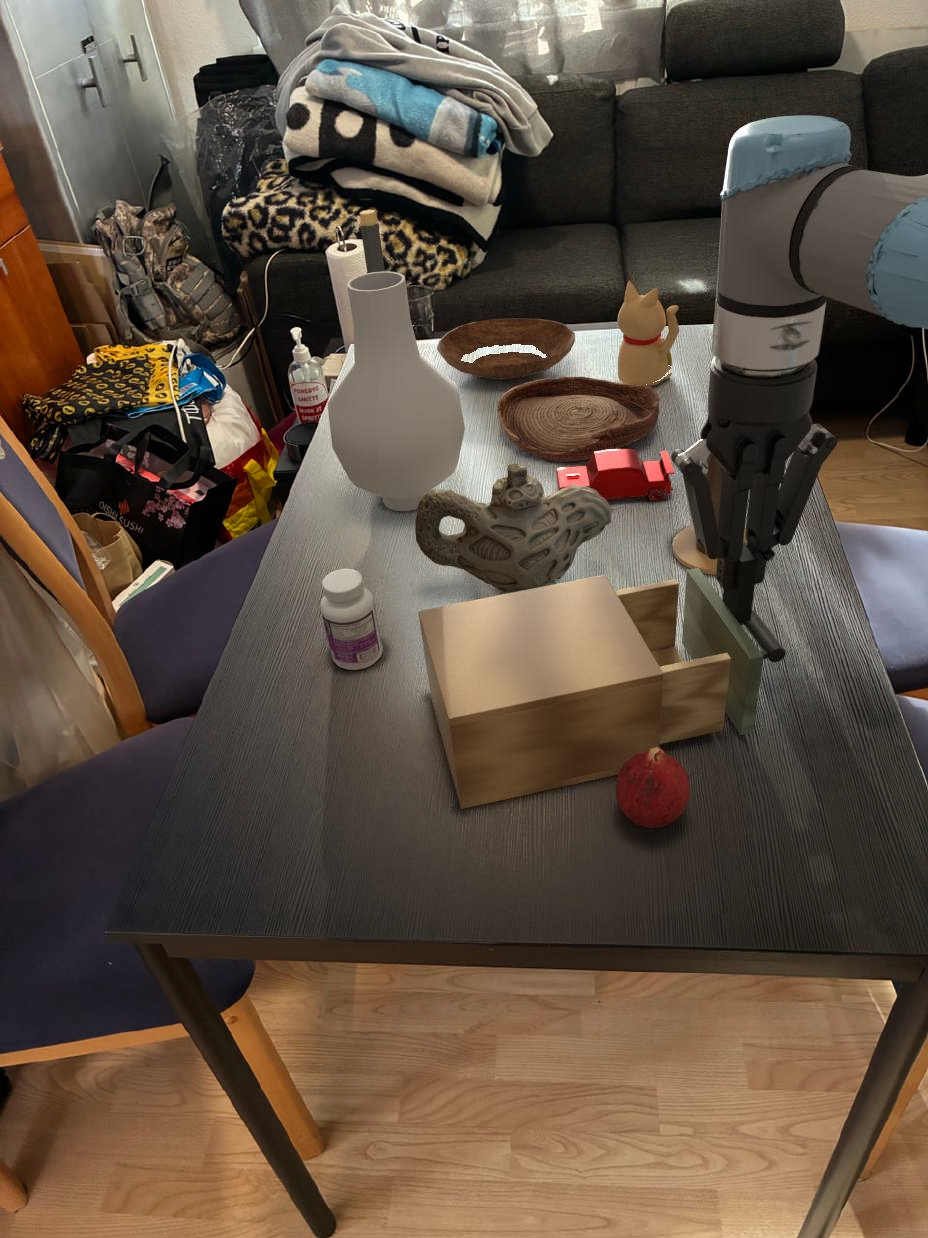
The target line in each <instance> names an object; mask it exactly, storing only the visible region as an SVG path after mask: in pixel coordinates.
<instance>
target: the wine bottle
mask: <svg viewBox="0 0 928 1238" xmlns="http://www.w3.org/2000/svg"><path fill="white" fill-rule="evenodd" d="M376 214H377V213H376V210H374V209H366V210H362V211H360V212H359V218H360V223H359V229H360V232H361V234H360V235H361V240H362V247H363V253H364V260H365V267H366V273H365V274H367V273H373V272H383V271H386V270H385V263H384V257H383V256H384V255H383V249H382V248H383V247H382V241H381V233H380V223H379V221H378V220H377V215H376ZM410 320H411V324H412V325H413V323H412V319H411V318H410Z"/></svg>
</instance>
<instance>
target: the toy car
mask: <svg viewBox="0 0 928 1238" xmlns="http://www.w3.org/2000/svg"><path fill="white" fill-rule="evenodd" d="M659 454H660V457H661V458H660V460H647V461H643V459H642V458H641V456H640V455H639V453H638V451H637V450H636V449H632V448H617V449H614V450H604V451H599V452H594V454H593V455H592V457H591V458H589V459H588V462H587V463H586V465H579V466H568V467H559V468H557V469H556V471H555V472H556V474H555V475H556V486H557V487H556V488H557V491H559V490H561V489H562V488H566V487H569V486H571V485H573V484H576V485H578V486H587V487H589V488H591V489H594V490H596V491H597V492H598V493H599V495H600V496H601V497H603V498H605V499H606V500H613V499H625V498H627V499H628V498H638V497H640V498H641V497H648V498H649V500H651V501H653V502H658V501H661V500H662V499H664V498H665V496H666V495H668V496H669V495H671V494H672V491H673V490H674V489H673V487H672V481H671V478H670V475H674V474H676V472H675V469H674V466H673V462H672V459H671V456H670V454H669V452H668V450H660V451H659ZM652 491H654V492H653V493H651V492H652ZM654 495H655V496H654Z"/></svg>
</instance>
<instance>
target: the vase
mask: <svg viewBox="0 0 928 1238" xmlns="http://www.w3.org/2000/svg"><path fill="white" fill-rule="evenodd" d="M366 273H367V272H366ZM366 273H363V274H359V275H357V276H355V277H352V278H351V279H350V280H348V282H346V286H347V292H348V299H349V305H350V312H351V318H352V319H351V320H352V325H353V352H354V354H353V356H354V364H353V365H352V367H351V368H350V369H349V371H348V372H347V374H346V375H345V376H344V378H343V379H342V381H341V382H340V384H339V385H338V387H337V388H336V389H335V391H334V393H333V394H332V395H331V396H330V399H329V400H328V401H327V415H328V422H329V430H330V437H331V439H330V440H331V446H332V450H333V452H334V453H335V455H336V457H337V459H338V461H339V463H340V465H341V467H342V469H343V471H344V472H345V474H346V476H347V478H348V480H349V481H350V482H351V483H352V484H353V485H354V486H355V487H356V488H358V489H361V490H364V491H365V492H367V493H370V494H374V495H376V496H380V497H382V500H383V505H384V506H385V507H386V508H387V509H390V510H392V511H395V512H411V511H415V510H417V508H418V505H419V502H420V500H421V499H422V498H423V497H424V496H425V495H426V494H427V493H428V492H430V491H431V490H434V489H435V488H436V487H438V486H439V485H440V484H442V483H444V482H445V481H446V480H447V479H448V478H449V477H451V476H453V474H454V473H455V471H456V469H457V467H458V465H459V460H460V457H461V450H462V445H463V441H464V436H465V431H466V425H465V419H464V414H463V413H464V412H463V408H462V403H461V402H462V401H461V397H460V396H461V395H460V392H459V389H458V386H457V383H455V382H454V381H453V380H452V379H450V378H449V377H448V376H447V375H446V374H444V373H443V372H442V371H441V370H440V369H439V368H437V367H436V366H435V365H434V364H432V363H431V362H430V361H429V360H428V359H426V358H425V357H424V356H423V355H421V354H420V350H419V346H418V343H417V338H416V335H415V332H414V328H413V323H412V324H411V322H412V319H411V313H410V306H409V305H410V304H409V298H408V289H407V282H406V276H405V275H404V274H402V273H400V272H396V271H386V270H385V271H383V272H373V273H367V274H366ZM410 319H411V320H410Z"/></svg>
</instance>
